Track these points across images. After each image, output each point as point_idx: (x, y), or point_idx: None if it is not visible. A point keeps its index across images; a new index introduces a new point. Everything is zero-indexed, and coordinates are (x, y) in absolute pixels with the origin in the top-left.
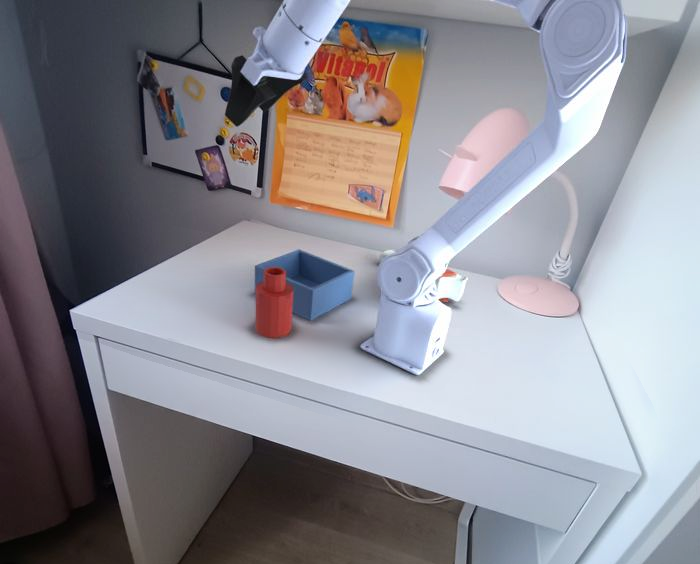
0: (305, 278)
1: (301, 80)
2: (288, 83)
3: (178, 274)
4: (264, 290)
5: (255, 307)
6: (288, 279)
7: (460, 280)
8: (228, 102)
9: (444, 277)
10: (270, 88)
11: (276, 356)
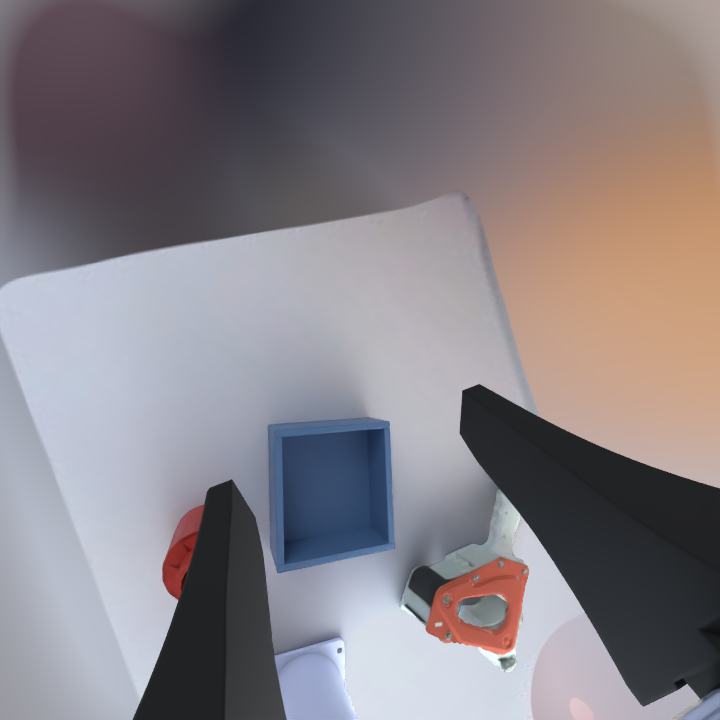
0: (366, 440)
1: (640, 701)
2: (595, 605)
3: (222, 283)
4: (177, 565)
5: (176, 533)
6: (278, 512)
7: (505, 657)
8: (191, 557)
9: (487, 650)
10: (534, 489)
11: (144, 604)
